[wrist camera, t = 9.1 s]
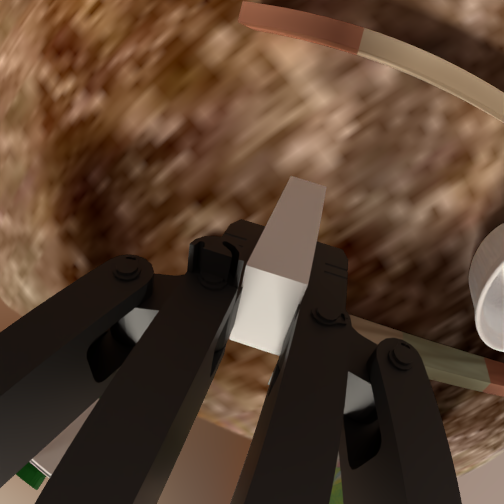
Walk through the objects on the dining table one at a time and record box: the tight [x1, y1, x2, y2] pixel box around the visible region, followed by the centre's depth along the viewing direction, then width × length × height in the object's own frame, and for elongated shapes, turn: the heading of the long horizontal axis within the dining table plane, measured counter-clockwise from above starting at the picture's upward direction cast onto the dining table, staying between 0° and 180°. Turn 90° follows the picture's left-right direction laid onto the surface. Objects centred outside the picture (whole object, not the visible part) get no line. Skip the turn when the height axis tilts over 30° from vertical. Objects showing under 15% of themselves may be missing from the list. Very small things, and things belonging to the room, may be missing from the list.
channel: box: [238, 1, 504, 397], centre depth 17 cm, size 19×31×4 cm, turn 78°
